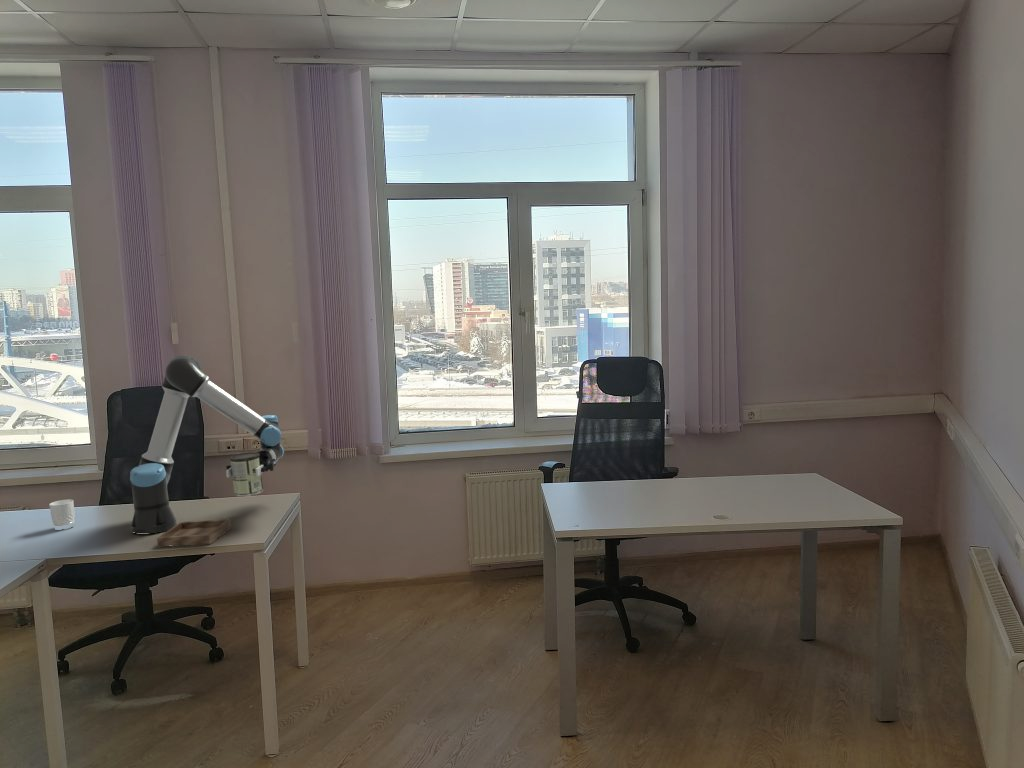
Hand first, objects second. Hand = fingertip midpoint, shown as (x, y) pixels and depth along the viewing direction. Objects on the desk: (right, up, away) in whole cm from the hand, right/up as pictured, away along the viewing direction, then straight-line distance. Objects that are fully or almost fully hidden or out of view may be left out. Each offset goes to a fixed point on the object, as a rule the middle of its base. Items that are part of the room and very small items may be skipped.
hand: (242, 473), depth 274 cm
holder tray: (-14, -22, -7) cm, 27 cm away
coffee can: (+1, -8, +5) cm, 10 cm away
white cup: (-73, -23, +14) cm, 77 cm away
